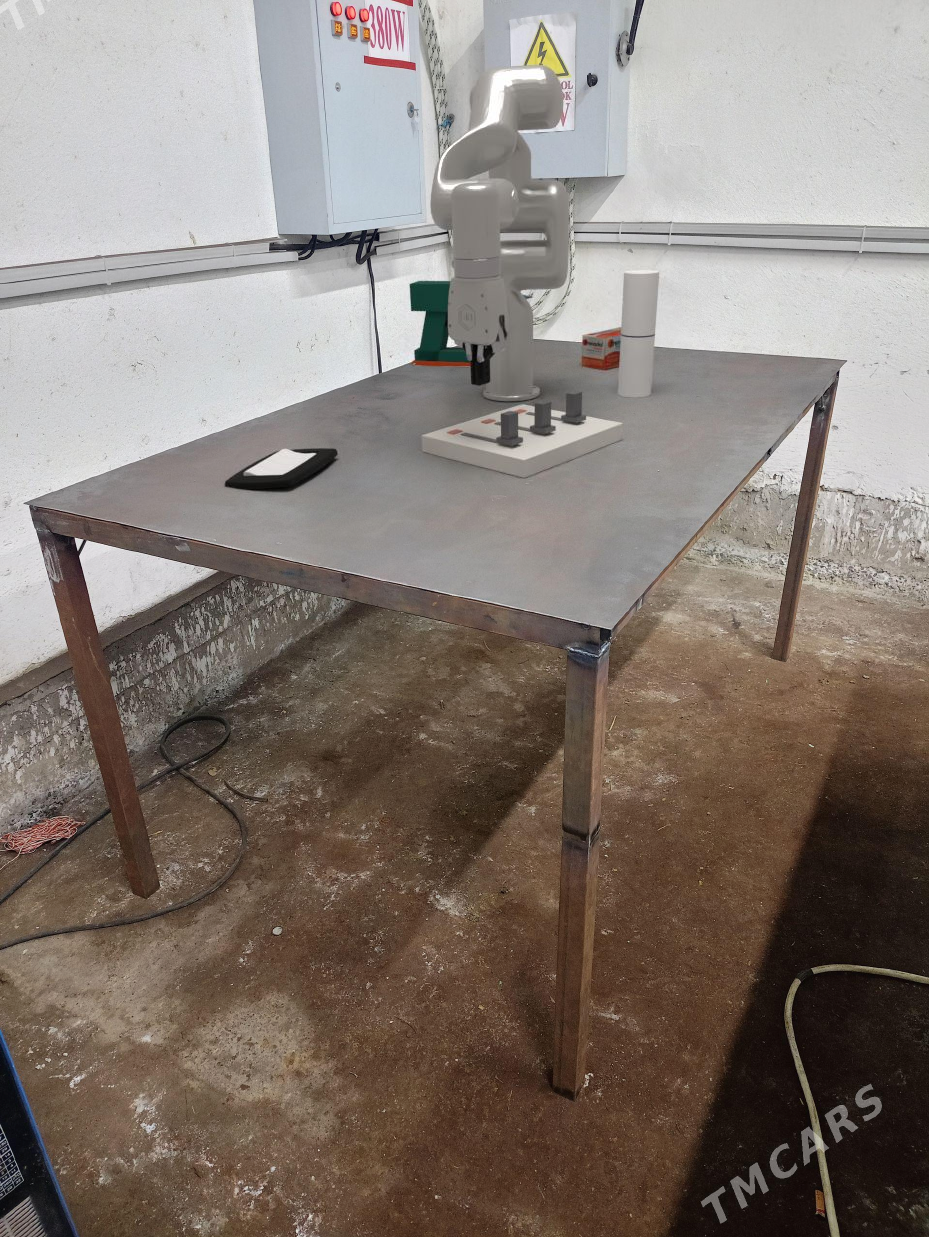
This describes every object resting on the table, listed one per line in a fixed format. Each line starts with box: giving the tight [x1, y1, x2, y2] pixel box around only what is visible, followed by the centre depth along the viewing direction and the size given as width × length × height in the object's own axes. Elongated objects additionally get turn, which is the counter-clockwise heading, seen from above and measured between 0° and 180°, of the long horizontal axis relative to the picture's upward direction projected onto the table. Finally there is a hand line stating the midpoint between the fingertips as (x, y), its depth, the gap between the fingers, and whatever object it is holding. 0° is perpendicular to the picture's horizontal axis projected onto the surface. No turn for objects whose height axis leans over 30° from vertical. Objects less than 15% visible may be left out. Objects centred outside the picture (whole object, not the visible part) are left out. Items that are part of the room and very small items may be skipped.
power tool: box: [409, 280, 534, 367], centre depth 217 cm, size 32×7×20 cm, turn 71°
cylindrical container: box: [617, 269, 660, 399], centre depth 182 cm, size 7×7×25 cm
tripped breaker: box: [496, 411, 523, 446], centre depth 145 cm, size 4×3×5 cm
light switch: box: [224, 447, 339, 490], centre depth 146 cm, size 20×3×14 cm
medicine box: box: [581, 326, 621, 371], centre depth 215 cm, size 15×8×8 cm, turn 132°
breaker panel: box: [421, 403, 624, 479], centre depth 155 cm, size 24×28×3 cm
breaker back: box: [561, 390, 587, 423], centre depth 156 cm, size 4×3×5 cm
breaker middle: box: [530, 400, 556, 434], centre depth 150 cm, size 4×3×5 cm
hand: (480, 383), depth 146 cm, fingers closed
